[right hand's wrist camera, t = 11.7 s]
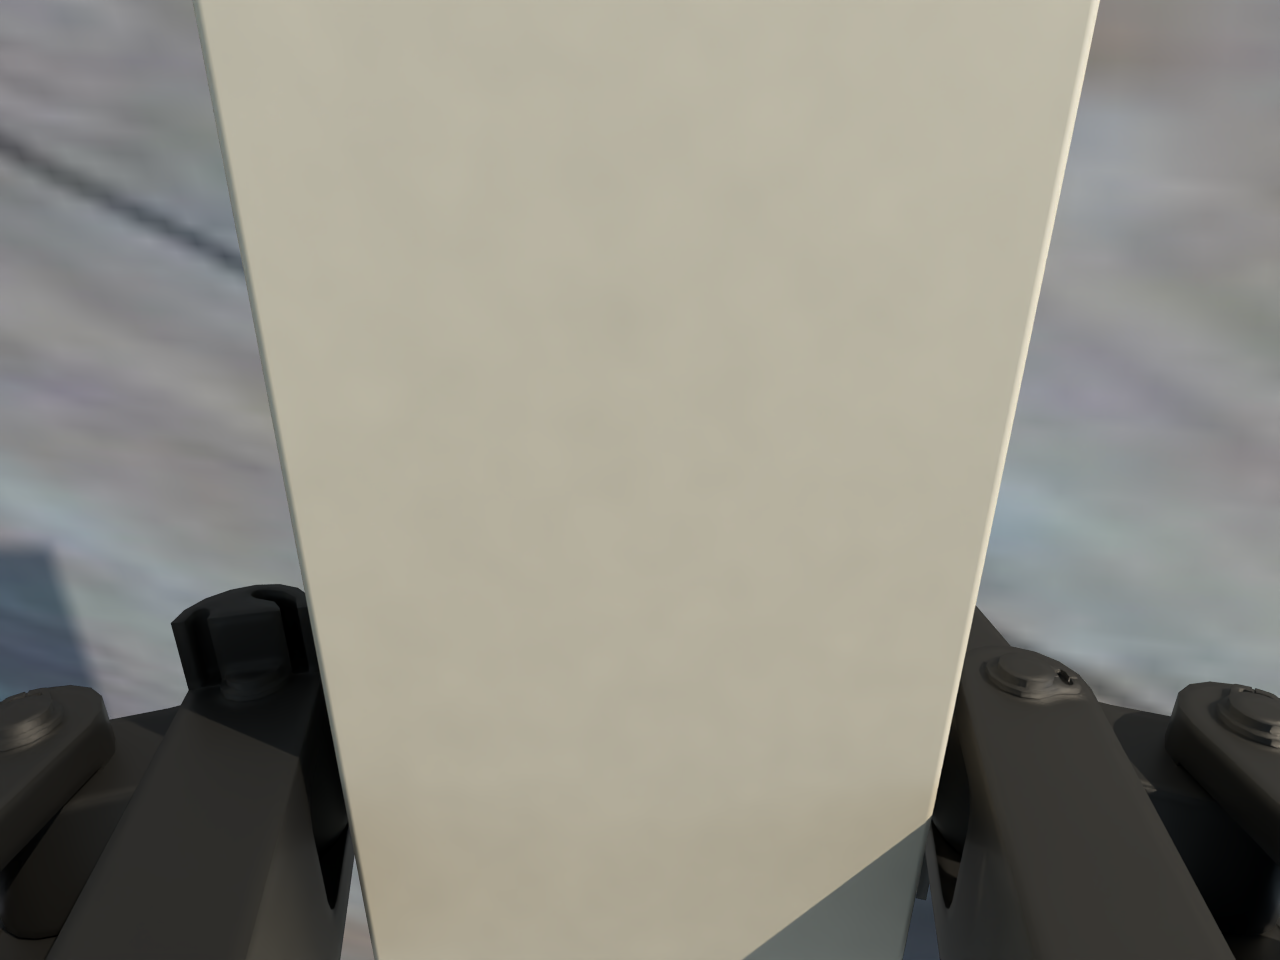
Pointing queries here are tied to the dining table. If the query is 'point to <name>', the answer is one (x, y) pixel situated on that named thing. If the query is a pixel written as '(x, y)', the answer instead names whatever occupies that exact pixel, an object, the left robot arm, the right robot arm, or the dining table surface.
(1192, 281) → the dining table surface
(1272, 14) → the dining table surface
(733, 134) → the beam
